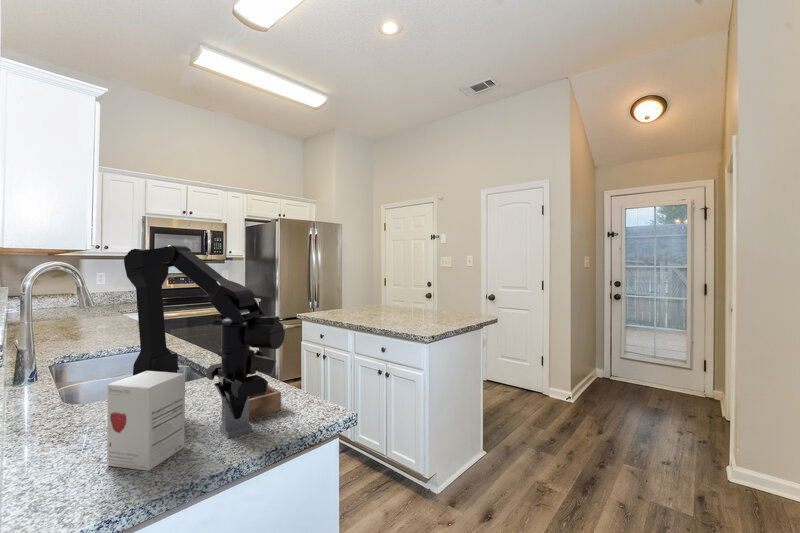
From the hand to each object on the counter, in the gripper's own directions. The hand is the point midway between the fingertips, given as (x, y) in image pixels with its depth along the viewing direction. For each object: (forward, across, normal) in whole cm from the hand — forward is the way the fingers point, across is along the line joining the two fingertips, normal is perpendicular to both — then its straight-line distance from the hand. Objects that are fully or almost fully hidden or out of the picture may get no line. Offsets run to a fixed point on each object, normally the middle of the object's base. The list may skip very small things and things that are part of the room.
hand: (235, 417), depth 81 cm
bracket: (+3, 0, 0) cm, 3 cm away
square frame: (+3, +8, -8) cm, 12 cm away
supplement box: (+3, +1, +16) cm, 16 cm away
